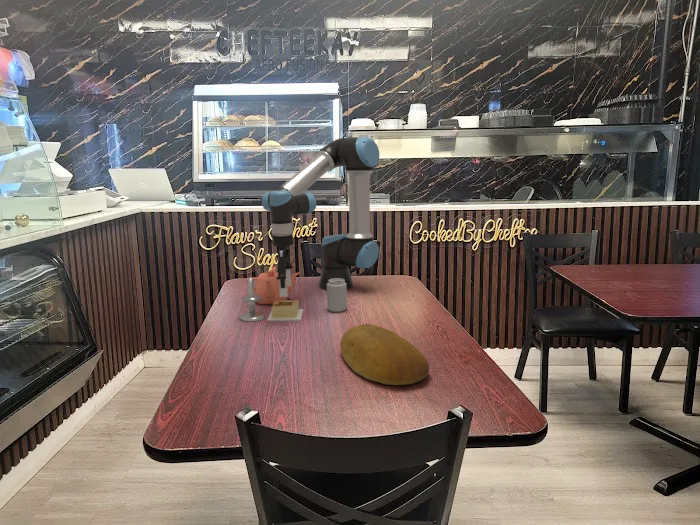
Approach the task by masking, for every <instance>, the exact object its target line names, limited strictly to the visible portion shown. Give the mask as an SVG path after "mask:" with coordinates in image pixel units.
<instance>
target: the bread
mask: <svg viewBox="0 0 700 525" xmlns="http://www.w3.org/2000/svg"><path fill="white" fill-rule="evenodd" d="M339 344H340V350H341V354H342V357H343V359H344V361H345V362H346V364H347V366H349V368H350V369H352V370H353V372H355V373H356V374H358V375H360V376H361V377H363V378H365V379H367V380H369V381H372V382H375V383H380V384H383V385H387V386H388V385H390V386H406V385H412V384H416V383H418V382H420V381H422V380H423V379H425V378H426V377H427V376H428V374H429V373H430V364H429V361H428V360H427V358H426V357H425V356H424V355H423V353H421V352H420V350H419V349H418V348H417V347H416V346H415V345H413V343H410V341H408V340H407V339H405V338H403V337H402V336H400V334H399V335H398V333H395V332H393V331H391V330H390V329H387V328H385V327H381V326H379V325H374V324H371V323H364V324H359V325H356V326H353V327H351V328H349V329H348V330H346V331H344V334H343V335H342V336H341V339H340V343H339Z"/></svg>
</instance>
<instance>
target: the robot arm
mask: <svg viewBox="0 0 700 525" xmlns="http://www.w3.org/2000/svg"><path fill="white" fill-rule="evenodd" d="M379 161H380V149H379V145H378V144H377V143H376V141H375V139H373V138H370V137H363V136H361V137H342V138H340V137H339V138H338V139H335V140H333V141H331V142H329V143H328V144H326V145H324V146H323V147H322V148H321V149H320V150H318V151H317V152H316V154H315V156H314V158H313V159H312V160H310V161H309V162H307V164H305V165H304V166H303V167H302V168H301V169H300V170H299V171H297V172H296V173H295V174H293V176H291V177H290V178H289V179H288V180H287V181H286V182H284V183H283V184H282V185H280V186H279V187H278V188H277V189H276V190H273V191H269V192H265V193H264V194H263V196H262V198H261V204H262V207H263V209H264V210H265V211H266V212H267V211H268V212H270V221H271V222H270V223H271V225H269V228H270V229H271V234H272V235H271V242H272V246H273V247H278V250H277V253H276V254H277V272H278V277H277V279H279V290H280V297H287V298H288V296H289V293H288V292H287V286H291V276H292V273H291V271H292V270H291V269H293V265H291V263H292V262H291V256H290V255H291V254H290V246H293V244H294V235H293V233H294V229H293V228H294V227H293V226H294V225H293V217H294V216H295V217H296V216H299V215H300V216H301V215H308V214H310V213H313V212H314V211H315V210H316V208H317V199H316V197H315V195H313V194H312V193H310V192H305V191H307V190H308V189H309V188H310V187H311V186H312V185H314V184H315V182H317V181H318V180H319V179H320V178H322V177H323V176H324V175H325V174H326V173H327V172H332V171H333V170H334V169H336V168H339V167H345V172H346V173H347V174H348V179H349V180H348V185H349V186H348V189H349V190H348V191H349V192H348V198H349V200H348V203H349V205H348V206H349V208H348V211H349V212H348V216H349V217H348V219H349V223H348V224H349V232H348V233H341V234H333V235H332V234H331V235H326V236H323V237H322V241H321V258H322V260H321V261H322V262H321V263H322V264H321V265H322V270H321V273H320V276H319V280H318V281H319V282H318V287H319V288H320V289H322V290H327V283H328V282H329V281H328V280H329V279H333V278H341V279H344V280H345V281H344V282H345V283H346V287H347V290H348V289H350V288H352V287H354V286H353V284H354V283H353V282H354V281H353V278H352V275H351V273H350V269H349V267H355V268H359V269H361V268H362V269H369V268H371V267H373V265H374V264H375V263H376V262H377V260H378V258H379V253H380V252H379V250H380V249H379V245H378V243H377V242H375V241H374V235H373V234H372V233H371V231H370V228H371V227H370V226H371V225H370V224H371V223H370V222H371V221H370V219H371V218H370V212H371V211H370V210H371V208H370V205H371V204H370V203H371V200H370V199H371V197H370V196H371V195H370V194H371V192H370V188H371V185H370V184H371V182H370V181H371V178H370V177H371V174H372V173H373V172H374V167H375V166H376V165H378V164H379Z"/></svg>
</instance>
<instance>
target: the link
mask: <svg viewBox="0 0 700 525" xmlns="http://www.w3.org/2000/svg"><path fill="white" fill-rule="evenodd" d="M299 301H300V300H299V299H290V300H288V299H287V300H278V301H274V303H273V304H272V306H271V310H272V318H297V315H298V312H299V309H300V306H299V303H300V302H299Z"/></svg>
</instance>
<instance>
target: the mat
mask: <svg viewBox="0 0 700 525" xmlns="http://www.w3.org/2000/svg"><path fill="white" fill-rule="evenodd" d="M303 313H304V308H299V312H298V315H297V318H272V309H271V311H270V312H269V316H268V317H267V322H286V321H287V322H294V321H296V322H297V321H302V316H303Z"/></svg>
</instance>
